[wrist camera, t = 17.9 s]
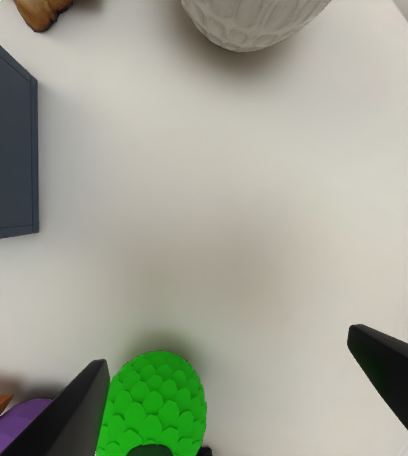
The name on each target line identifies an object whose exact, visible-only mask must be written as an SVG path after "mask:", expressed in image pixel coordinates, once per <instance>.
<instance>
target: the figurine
mask: <svg viewBox="0 0 408 456" xmlns="http://www.w3.org/2000/svg"><path fill="white" fill-rule="evenodd" d="M14 2H15V4H16V6H17V9H18V11H19V13H20V14H21V16H22V17H23V19H24V20H25V22H26V23H27V25H28V26H29V27H31V28H32V29H33V30H34V32H41V31H44V30H47V29H48V28H49V27H50V26H51V24H52V23H53V22H56V21H57V18H58V15H59V13H62V12H63V11H65V10H67V9H68V8H69V7H70V6H71V5H72V4H73V0H14Z"/></svg>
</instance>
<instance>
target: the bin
mask: <svg viewBox="0 0 408 456" xmlns="http://www.w3.org/2000/svg"><path fill="white" fill-rule="evenodd" d="M32 233H38V142H37V80H36V79H35V78H34V77H33V76H32V75H31V74H30V73H29V72H28V71H27V70H26V69H25V68H24V67H23V66H21V65H20V64H19V63H18V62H17V61H16V60H15V59H14V58H13V57H12V56H11V55H10V54H9V53H8V52H7V51H6V50H5V49H4V48H2V47H1V46H0V239H1V238H8V237H14V236H20V235H27V234H32Z"/></svg>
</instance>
